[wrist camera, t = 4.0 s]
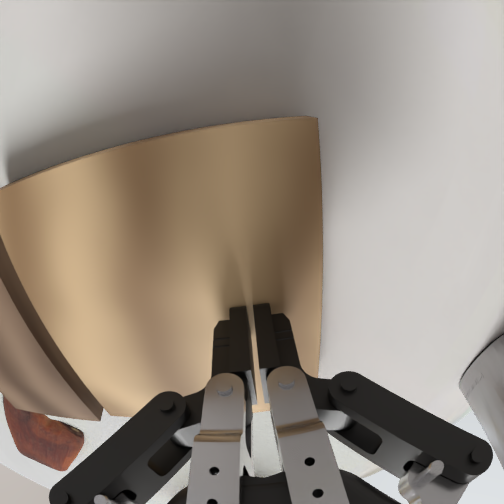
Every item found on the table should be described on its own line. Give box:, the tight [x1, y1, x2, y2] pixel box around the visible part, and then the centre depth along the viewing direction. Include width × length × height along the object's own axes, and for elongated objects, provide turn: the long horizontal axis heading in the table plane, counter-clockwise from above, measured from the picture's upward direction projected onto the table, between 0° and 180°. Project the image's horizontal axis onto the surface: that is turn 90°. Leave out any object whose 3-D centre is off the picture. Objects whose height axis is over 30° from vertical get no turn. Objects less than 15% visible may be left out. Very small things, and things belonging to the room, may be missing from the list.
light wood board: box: [0, 116, 323, 417], centre depth 13 cm, size 14×16×2 cm
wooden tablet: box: [3, 397, 84, 471], centre depth 24 cm, size 27×10×2 cm, turn 144°
